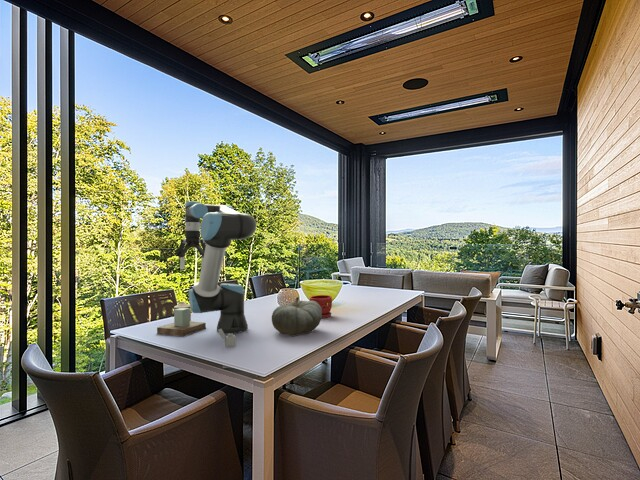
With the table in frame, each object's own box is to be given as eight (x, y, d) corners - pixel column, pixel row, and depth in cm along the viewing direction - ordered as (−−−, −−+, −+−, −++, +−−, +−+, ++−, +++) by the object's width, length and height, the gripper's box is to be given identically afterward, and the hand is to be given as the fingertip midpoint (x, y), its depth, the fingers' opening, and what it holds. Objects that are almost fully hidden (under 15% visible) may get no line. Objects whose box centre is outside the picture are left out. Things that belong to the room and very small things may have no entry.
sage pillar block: (189, 324, 175) (189, 308, 175) (182, 326, 170) (182, 310, 170) (181, 323, 177) (181, 307, 177) (174, 325, 172) (174, 309, 172)
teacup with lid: (193, 322, 191) (193, 301, 192) (176, 325, 186) (176, 303, 186) (187, 319, 201) (187, 299, 201) (170, 321, 196) (170, 300, 196)
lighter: (234, 345, 148) (234, 326, 148) (235, 346, 147) (235, 327, 147) (217, 347, 144) (217, 328, 144) (219, 348, 143) (218, 329, 143)
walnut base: (205, 328, 178) (205, 322, 178) (183, 336, 163) (182, 330, 163) (181, 326, 184) (181, 320, 184) (157, 333, 169) (157, 327, 169)
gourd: (334, 324, 172) (328, 290, 171) (306, 345, 151) (298, 307, 150) (295, 323, 186) (289, 292, 185) (264, 342, 165) (257, 307, 164)
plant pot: (318, 313, 213) (318, 294, 213) (336, 316, 206) (336, 295, 206) (305, 317, 203) (305, 296, 203) (323, 320, 195) (323, 298, 195)
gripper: (168, 230, 187) (169, 269, 187) (208, 229, 179) (208, 270, 179) (178, 230, 194) (178, 268, 194) (216, 230, 186) (216, 269, 186)
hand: (192, 269), depth 187 cm, fingers open, 13 cm apart
